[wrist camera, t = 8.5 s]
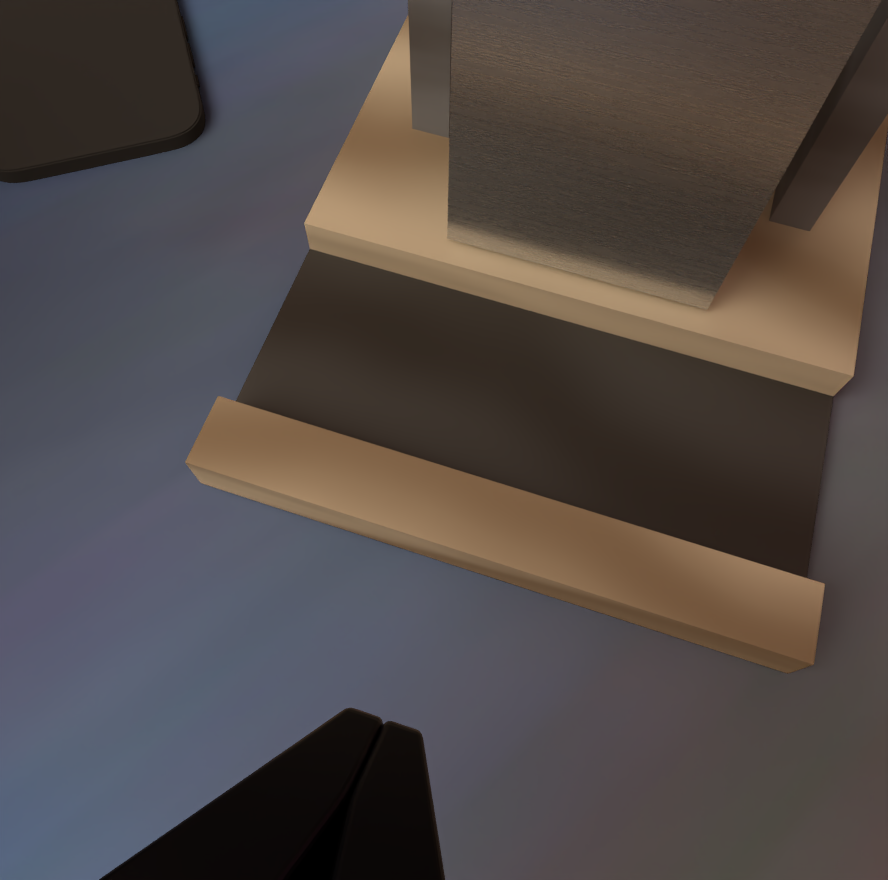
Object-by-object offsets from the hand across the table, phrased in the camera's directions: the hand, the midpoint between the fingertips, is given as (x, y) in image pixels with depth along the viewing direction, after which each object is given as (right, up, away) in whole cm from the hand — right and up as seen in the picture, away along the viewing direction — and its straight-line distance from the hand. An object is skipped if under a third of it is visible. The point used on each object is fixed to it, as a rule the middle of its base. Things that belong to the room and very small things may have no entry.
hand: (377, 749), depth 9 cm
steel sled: (+7, +16, +18) cm, 25 cm away
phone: (-13, +19, +21) cm, 31 cm away
